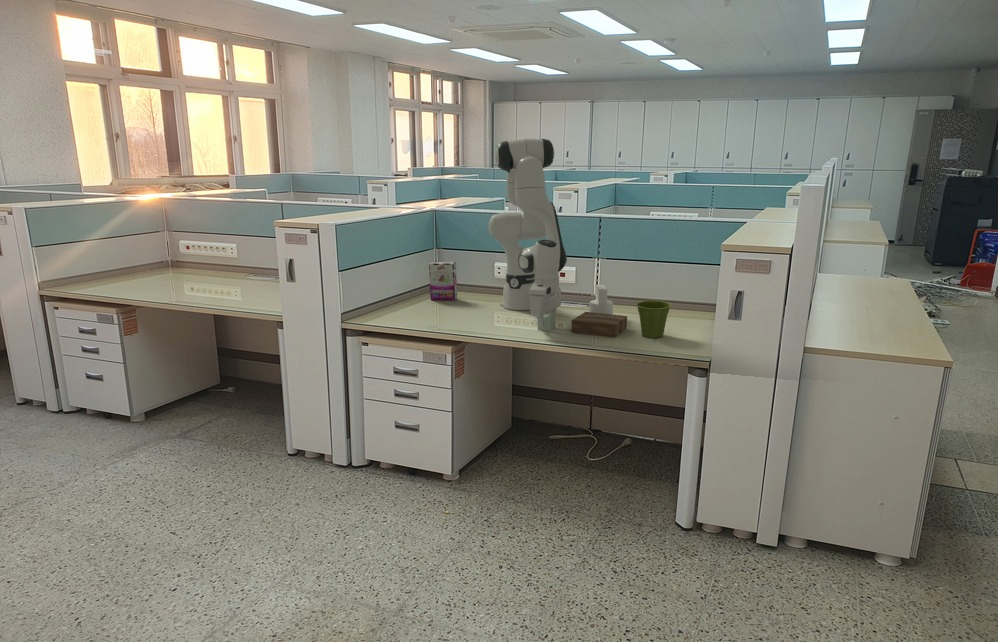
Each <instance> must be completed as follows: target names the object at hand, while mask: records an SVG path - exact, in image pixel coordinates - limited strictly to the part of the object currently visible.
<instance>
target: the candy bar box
mask: <svg viewBox="0 0 998 642" xmlns="http://www.w3.org/2000/svg"><path fill="white" fill-rule="evenodd" d="M428 271H429V292H430V300H431V301H456V300H458V288H457V287H458V286H457V285H458V284H457V283H458V278H457V262H456V261H431V262H429V263H428Z"/></svg>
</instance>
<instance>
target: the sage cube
mask: <svg viewBox="0 0 998 642" xmlns="http://www.w3.org/2000/svg"><path fill="white" fill-rule="evenodd" d="M556 316H557V315H556V314H555V315H550V313H546V314H544V316H543V321H544V326H542V327H539V326H538V325H537V331H545V332H551V331H553V330H555V329H556V327H557V325H556V323H557V317H556Z"/></svg>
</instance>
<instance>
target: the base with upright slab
mask: <svg viewBox="0 0 998 642" xmlns="http://www.w3.org/2000/svg"><path fill="white" fill-rule="evenodd" d="M588 304H589V305H588V306H589V307H588V309H589V311H588V312H592V313H602V314H612V315H614V314H613V313H614V312H613V311H614V310H613V309H614V301H612V300H609V299H608V288H607V286H605V285H604V284H596V285H595V299H593V300H590V301H589V303H588Z"/></svg>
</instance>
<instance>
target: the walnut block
mask: <svg viewBox="0 0 998 642" xmlns="http://www.w3.org/2000/svg"><path fill="white" fill-rule="evenodd" d="M626 329H628V316H627V315H619V314H613V315H612V314H602V313H592V312H589V311H584V312H583V313H581V314H579V315H578V316H575V317H574V318H572V319H571V331H570V333H571V334H578V335H579V334H580V335H586V336H588V335H589V336H597V337H604V338H612V339H615V338H617V337H618V336H619V335H620V334H621V333H624V331H625V330H626Z"/></svg>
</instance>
